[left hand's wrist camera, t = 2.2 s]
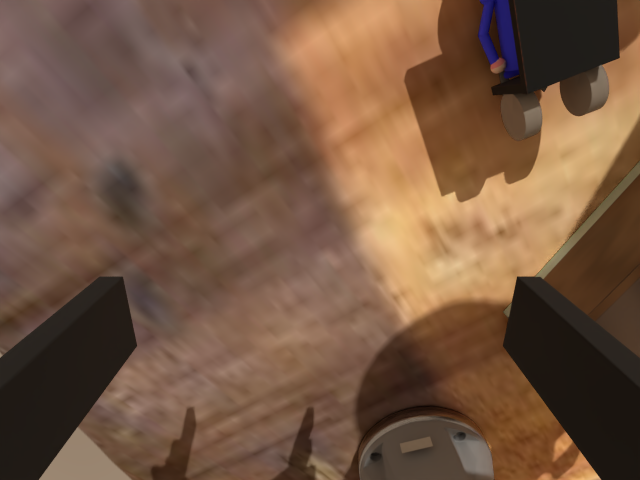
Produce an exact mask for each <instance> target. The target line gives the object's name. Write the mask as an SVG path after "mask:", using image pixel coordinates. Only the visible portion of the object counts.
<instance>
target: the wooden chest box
mask: <svg viewBox="0 0 640 480" xmlns="http://www.w3.org/2000/svg"><path fill="white" fill-rule="evenodd" d="M535 277H541V278H542V279H544V280H545V281H546V282H547V283H549V284H550V285H551V286H552V287H553V288H555V289H556V290H557V291H558V292H560V293H561V294H562V295H563V296H565V297H566V298H567V299H568V300H569V301H571V302H572V303H573V304H574V305H576V306H577V307H578V308H579V309H580V310H582V311H583V312H584V313H585V314H587V315H588V316H589V317H590V318H592V319H593V320H594V321H595V322H596V323H598V324H599V325H600V326H601V327H603V328H604V329H605V330H606V331H607V332H609V333H610V334H611V335H612V336H614V337H615V338H616V339H617V340H619V341H620V342H621V343H622V344H623V345H625V346H626V347H627V348H628V349H630V350H631V351H632V352H633V353H634V354H636V355H637V356H638V357H639V358H640V161H639V162H638V163H637V165H636V166H635V167H634V168H633V169H632V170H631V171H630V172H629V173H628V174H627V176H626V177H625V178H624V179H623V180H622V181H621V182H620V183H619V184H618V186H617V187H616V188H615V189H614V190H613V191H612V192H611V193H610V194H609V195H608V197H607V198H606V199H605V200H604V201H603V202H602V203H601V204H600V205H599V207H598V208H597V209H596V210H595V211H594V212H593V213H592V214H591V215H590V216H589V218H588V219H587V220H586V221H585V222H584V223H583V224H582V225H581V226H580V227H579V229H578V230H577V231H576V232H575V233H574V234H573V235H572V236H571V237H570V239H569V240H568V241H567V242H566V243H565V244H564V245H563V246H562V247H561V248H560V250H559V251H558V252H557V253H556V254H555V255H554V256H553V257H552V258H551V260H550V261H549V262H548V263H547V264H546V265H545V266H544V267H543V268H542V269H541V271H540V272H539V273H538V274H537V275H536V276H535ZM511 304H512V303H511ZM511 304H510V305H509V306H508V307H507V308H506V309H505V310H504V311H503V313H504V314H505V315H506V316H507V317H508V318H509V314H510V309H511Z"/></svg>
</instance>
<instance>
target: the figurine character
mask: <svg viewBox="0 0 640 480" xmlns="http://www.w3.org/2000/svg"><path fill="white" fill-rule="evenodd" d="M480 2H481V3H482V4H483V5H484V7H483V12H482V18H481V23H480V28H479V33H478V37H479V40H480V42H481V44H482V46H483V49H484V51H485V53H486V56H487V58H488V60H489V63H490V65H491V66H490V68H491V71H492V72H493V73H499V76H500V82H501V84H498V85H496V86H493V87H491V89H492V94H493V95H503V97H502V100H501V116H502V120H503V123H504V126H505V128H506V130H507V132H508V134H509V135H510V136H511V137H512V138H513V139H514V140H516V141H520V140H523V139H525V138H528V137H531V136H533V135H536V134H537V133H538V132H539V131H540V129H541V126H542V111H541V107H540V103H539V101H538V99H537V97H536V95H535V93H534V91H537V90H539V89H541V90H542V91H543V92H545V90H546V88H547V87H548V86H549V85H552V84H554V83H557V82H560V93H561V98H562V101H563V103H564V105H565V107H566V108H567V110H568V111H569V112H570V113H571V114H573V115H575V116H582V115H585V114H587V113H590V112H593V111H595V110H598V109H600V108H601V107H603V105H604V104H605V103H606V101H607V98H608V94H609V81H608V77H607V74H606V71H605V69H604V68H603V66H602V65H603V64H605V63H608V62H610V61H613V60H616V59H618V58H620V56H619V35H618V15H617V0H480ZM493 9H494V10H495V16H496V22H497V29H498V35H499V41H500V47H501V54H502V58H499V57H498V54H497V52H496V50H495V47H494V45H493V42H492V40H491V38H490V35H489V28H490V23H491V18H492V14H493ZM517 75H520V76H518V77H516V78H513V79H511V80H510V79H509V78H512V77H514V76H517Z"/></svg>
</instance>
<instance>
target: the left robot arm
mask: <svg viewBox="0 0 640 480" xmlns="http://www.w3.org/2000/svg"><path fill="white" fill-rule="evenodd" d="M136 347H137V343H136V338H135V333H134V329H133V324H132V319H131V314H130V309H129V304H128V300H127V295H126V290H125V285H124V280H123V277H99V278H98V279H96V280H95V281H94V282H93V283H91V284H90V285H89V286H88V287H87V288H85V289H84V290H83V291H82V292H80V293H79V294H78V295H77V296H75V297H74V298H73V299H72V300H71V301H69V302H68V303H67V304H66V305H64V306H63V307H62V308H61V309H60V310H58V311H57V312H56V313H55V314H53V315H52V316H51V317H50V318H48V319H47V320H46V321H45V322H44V323H42V324H41V325H40V326H39V327H37V328H36V329H35V330H34V331H33V332H31V333H30V334H29V335H28V336H26V337H25V338H24V339H23V340H21V341H20V342H19V343H18V344H17V345H15V346H14V347H13V348H12V349H10V350H9V351H8V352H7V353H6V354H4V355H3V356H2V357H1V358H0V480H39V478H40V477H41V476H42V474H43V473H44V472H45V470H46V469H47V468H48V466H49V465H50V464H51V462H52V461H53V459H54V458H55V457H56V455H57V454H58V453H59V451H60V450H61V449H62V447H63V446H64V444H65V443H66V442H67V440H68V439H69V438H70V436H71V435H72V434H73V432H74V431H75V430H76V428H77V427H78V426H79V424H80V423H81V421H82V420H83V419H84V417H85V416H86V415H87V413H88V412H89V411H90V409H91V408H92V406H93V405H94V404H95V402H96V401H97V400H98V398H99V397H100V396H101V394H102V393H103V392H104V390H105V389H106V387H107V386H108V385H109V383H110V382H111V381H112V379H113V378H114V377H115V375H116V374H117V372H118V371H119V370H120V368H121V367H122V366H123V364H124V363H125V362H126V360H127V359H128V358H129V356H130V355H131V353H132V352H133V351H134V349H135V348H136ZM503 347H504V348H505V349H506V351H507V352H508V353H509V355H510V356H511V358H512V359H513V360H514V362H515V363H516V364H517V366H518V367H519V368H520V370H521V371H522V372H523V374H524V375H525V377H526V378H527V379H528V381H529V382H530V383H531V385H532V386H533V387H534V389H535V390H536V392H537V393H538V394H539V396H540V397H541V398H542V400H543V401H544V402H545V404H546V405H547V406H548V408H549V409H550V411H551V412H552V413H553V415H554V416H555V417H556V419H557V420H558V421H559V423H560V424H561V426H562V427H563V428H564V430H565V431H566V432H567V434H568V435H569V436H570V438H571V439H572V440H573V442H574V443H575V445H576V446H577V447H578V449H579V450H580V451H581V453H582V454H583V455H584V457H585V458H586V459H587V461H588V462H589V464H590V465H591V466H592V468H593V469H594V470H595V472H596V473H597V474H598V476H599V477H600V479H601V480H640V358H639V357H638V356H637V355H636V354H634V353H633V352H632V351H631V350H630V349H628V348H627V347H626V346H625V345H623V344H622V343H621V342H620V341H619V340H617V339H616V338H615V337H614V336H612V335H611V334H610V333H609V332H607V331H606V330H605V329H604V328H603V327H601V326H600V325H599V324H598V323H596V322H595V321H594V320H593V319H592V318H590V317H589V316H588V315H587V314H585V313H584V312H583V311H582V310H580V309H579V308H578V307H577V306H576V305H574V304H573V303H572V302H571V301H569V300H568V299H567V298H566V297H565V296H563V295H562V294H561V293H560V292H558V291H557V290H556V289H555V288H553V287H552V286H551V285H550V284H549V283H547V282H546V281H545V280H544V279H542V278H541V277H517V280H516V285H515V290H514V295H513V300H512V304H511V309H510V314H509V319H508V324H507V329H506V333H505V338H504V343H503ZM358 466H359V476H360V480H494V472H493V463H492V454H491V451H490V449H489V446H488V444H487V442H486V440H485V438H484V436H483V434H482V432H481V430H480V429H479V427H478V426H477V425H476V424H475V423H474V422H473V421H472V420H470V419H469V418H468V417H466V416H464V415H462V414H460V413H458V412H455V411H453V410H449V409H445V408H439V407H417V408H411V409H406V410H403V411H399V412H397V413H394V414H392V415H390V416H388V417H386V418H384V419H382V420H381V421H380V422H378V423H377V424H376V425H374V426H373V427H372V428H371V429H370V430H369V431H368V433H367V434H366V435H365V437H364V438H363V440H362V442H361V444H360V447H359V451H358Z"/></svg>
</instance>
